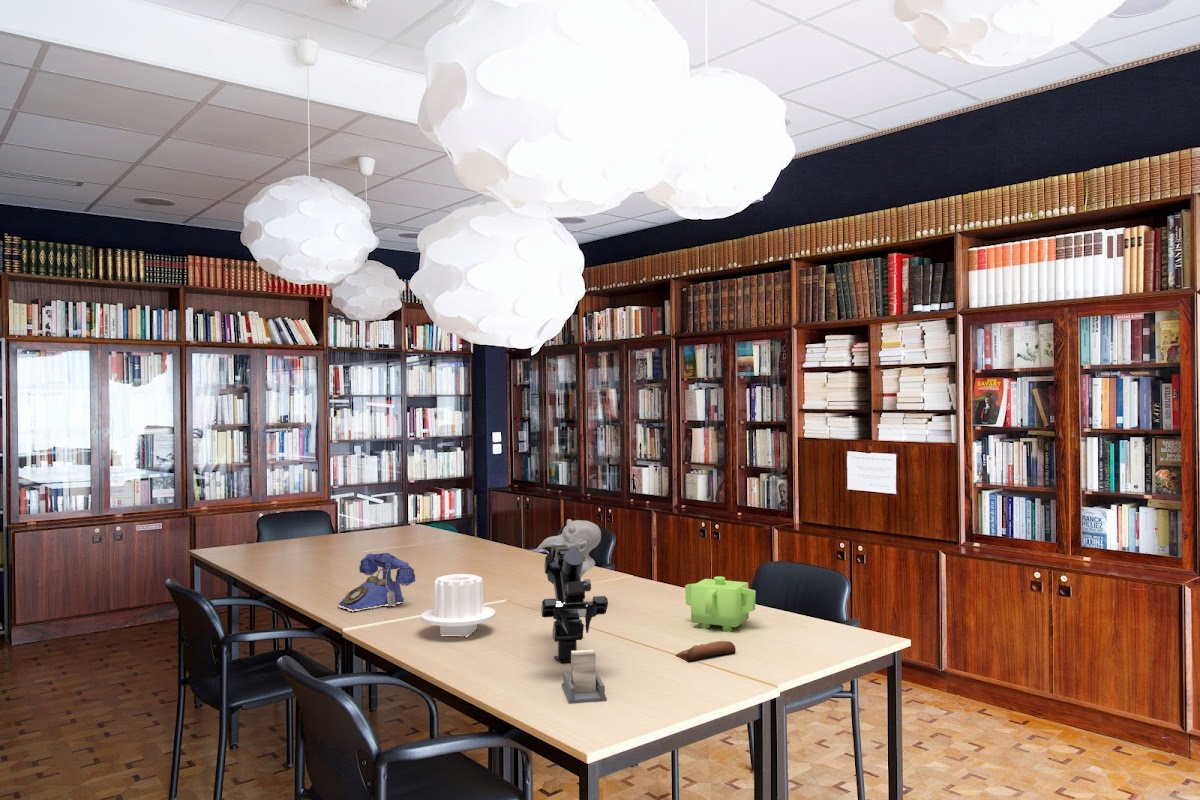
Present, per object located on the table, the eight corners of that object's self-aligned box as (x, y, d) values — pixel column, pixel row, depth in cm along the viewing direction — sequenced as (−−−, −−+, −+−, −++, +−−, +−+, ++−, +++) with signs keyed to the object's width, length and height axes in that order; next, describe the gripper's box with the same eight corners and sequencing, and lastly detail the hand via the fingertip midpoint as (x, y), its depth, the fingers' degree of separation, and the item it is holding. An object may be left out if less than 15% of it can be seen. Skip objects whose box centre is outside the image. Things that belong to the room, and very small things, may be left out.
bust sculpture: (541, 607, 322) (540, 516, 323) (603, 607, 321) (602, 516, 322) (535, 617, 306) (534, 522, 307) (600, 617, 305) (599, 522, 305)
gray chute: (561, 685, 229) (561, 672, 229) (597, 683, 231) (597, 669, 231) (568, 703, 216) (568, 688, 216) (606, 700, 217) (606, 685, 217)
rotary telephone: (318, 601, 338) (318, 551, 338) (372, 592, 354) (372, 545, 354) (367, 619, 307) (366, 564, 308) (424, 608, 324) (423, 556, 324)
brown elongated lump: (719, 647, 266) (725, 631, 263) (731, 663, 260) (738, 647, 257) (672, 655, 257) (678, 639, 254) (684, 672, 251) (690, 656, 248)
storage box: (674, 629, 287) (674, 579, 288) (698, 615, 307) (697, 568, 308) (744, 638, 276) (744, 586, 276) (764, 622, 296) (763, 574, 296)
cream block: (571, 688, 225) (571, 650, 225) (593, 686, 226) (592, 649, 226) (573, 692, 221) (573, 655, 221) (595, 691, 222) (595, 653, 222)
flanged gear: (481, 644, 271) (480, 586, 271) (409, 641, 276) (408, 584, 276) (505, 625, 296) (504, 572, 296) (438, 622, 301) (438, 570, 301)
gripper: (542, 570, 237) (546, 619, 226) (606, 568, 240) (614, 615, 229) (539, 592, 244) (543, 640, 233) (601, 589, 248) (609, 636, 237)
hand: (577, 632), depth 233 cm, fingers open, 5 cm apart
